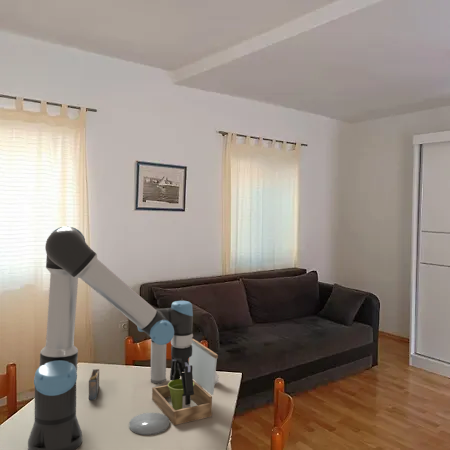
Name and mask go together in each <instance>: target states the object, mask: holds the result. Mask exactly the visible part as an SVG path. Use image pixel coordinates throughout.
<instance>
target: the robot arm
mask: <svg viewBox="0 0 450 450" xmlns="http://www.w3.org/2000/svg"><path fill="white" fill-rule="evenodd" d="M45 253H46V261H45V263H46V264H45V269H46V270H47V271H48V272H49V273H50V275H49V276H50V279H49V293H48V306H47V307H48V309H47V322H46V338H45V339H46V340H45V346H44V347H42V348H41V350H40V354H39V366H38V368H37V369H36V370H35V373H34V377H33V378H34V380H33V385H34V422H33V426H32V429H31V430H30V434H29V437H28V440H27V450H77V449H78V447H80V445H81V444H82V442H83V432H82V429H81V426H80V423H79V419H78V417H77V380H78V379H77V378H78V373H77V372H78V358H79V356H78V355H79V349H78V348H77V346H75V331H76V330H75V329H76V328H75V327H76V318H77V317H76V315H77V313H76V312H77V300H78V286H79V285H78V284H79V279H81V280H82V281H83V282H84V283H85V284H87V285H88V286H89V287H90V288H92V290H93V291H95V292H96V293H97V294H98V295H100V296H101V297H102V298H103V299H104V300H106V301H107V302H108V303H110V305H112V306H113V307H114V308H115V309H117V310H118V311H119V312H121V314H123V315H124V316H125V317H126V318H127V319H128V320H129V321H131V322H132V323H133V324H135V326H137V327H136V328H137V331H138V332H140V333H143V332H144V333H145V334H146V335H147V336H148V337H150V341H151V340H152V341H154V342H155V343H156V344H158V345H165V344H166V345H167V344H169V343H170V344H171V346H170V351H171V352H170V355H171V356H170V357H171V363H170V364H171V365H170V373H169V374H170V375H169V380H170V381H173V380H177V379H182V385H183V391H184V394H182V396H183V409H184V408H188V407H192V406H191V401H192V399H191V395H194V389H193V380H194V379H193V376H192V368H193V367H192V365H190V366H189V357H191V356H192V345H191V344H192V339H193V337H194V334H193V322H194V321H193V320H194V319H193V317H194V313H193V311H194V310H193V303H191V302H190V301H187V300H175V301H173V302H172V303H171V307H167V308H154V307H153V306H152V305H151V304H150V302H149V303H148V301H146V300H145V299H144V298H143V297H142V296H140V295H139V294H138V293H137V292H136V291H135V290H133V289H132V288H131V286H129V285H128V284H127V283H126V282H125V281H124V280H122V279H121V278H120V277H119V276H118V275H116V273H114V272H113V271H112V270H110V269H109V268H108V267H107V266H106V265H105V264H103V262H101V261H100V260H99V259H98V253H96V252H95V250H93V249H92V248H91V247H90V246H89V245H88V243H87V242H86V238H85V236H84V234H83V233H82V232H81V231H80V230H79V229H77V228H75V227H73V226H61V227H58V228H56V229H55V230H53V231H52V232H51V233H50V235H48V237H47V239H46V241H45Z"/></svg>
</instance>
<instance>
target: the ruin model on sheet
mask: <svg viewBox="0 0 450 450" xmlns="http://www.w3.org/2000/svg"><path fill="white" fill-rule="evenodd" d="M90 373H91V374H90V375H89V379H88V400H97V397H98V393H99V389H100V368H94V369H93V368H92V370H91V372H90Z"/></svg>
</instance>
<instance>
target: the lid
mask: <svg viewBox="0 0 450 450" xmlns="http://www.w3.org/2000/svg"><path fill="white" fill-rule="evenodd" d="M191 345H192V356H191V357H189V358H188V362H189V366H190V365H192V367H193V368H192V376H193V380H194V381H195V382H197V383H198V384H199V385H201V386H200V387H202V388H203V389H204V390H205V391H206V392H207V393H209V394H210V395H211V396H213V395H214V392H215V385H214V383H215V372H216V373H217V371H216V370H217V363H218V362H217V359H218V358H219V357H218V356H219V355H218V354H217V353H216V352H214V351H213V350H211V349H210V348H208V347H207V346H205V345H204V344H202V343H201V342H200V341H198V340H196V339H194V338H192V344H191Z"/></svg>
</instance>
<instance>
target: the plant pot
mask: <svg viewBox="0 0 450 450" xmlns="http://www.w3.org/2000/svg"><path fill="white" fill-rule="evenodd" d="M167 385H168V387H169V390H170V394H171V397H170V401H171V406H172V407H173V408H174V410H179V409H183V396H182V394H184V391H183V385H182V379H181V378H180V379H177V380H173V381H172V380H170V381H169V382H168V383H167ZM193 386H194V382H193Z"/></svg>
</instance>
